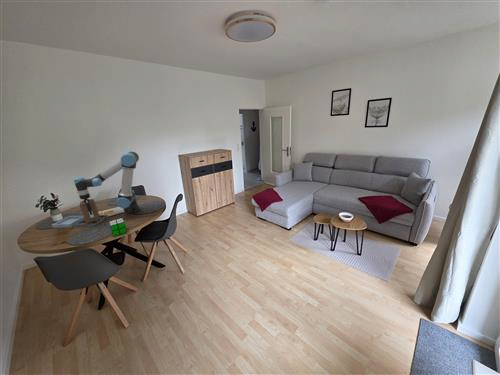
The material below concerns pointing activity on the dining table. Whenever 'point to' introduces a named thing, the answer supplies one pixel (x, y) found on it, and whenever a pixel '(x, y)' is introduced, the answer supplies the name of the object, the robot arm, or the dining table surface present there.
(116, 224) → the puzzle cube
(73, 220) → the bin
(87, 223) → the collar
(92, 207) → the wooden block
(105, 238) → the dining table surface
